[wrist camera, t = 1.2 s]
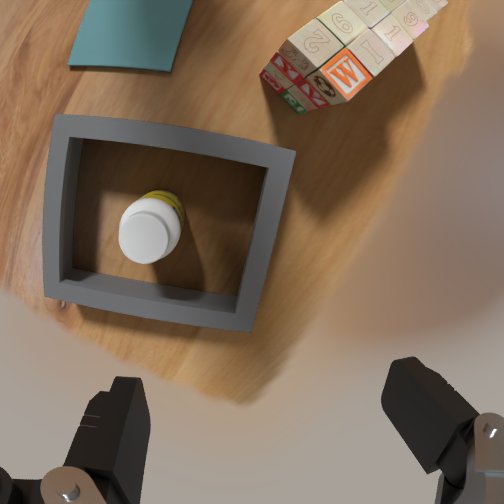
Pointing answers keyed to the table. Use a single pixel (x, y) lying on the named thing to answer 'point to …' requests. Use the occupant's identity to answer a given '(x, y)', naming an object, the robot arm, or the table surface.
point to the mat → (130, 34)
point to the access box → (139, 292)
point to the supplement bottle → (151, 226)
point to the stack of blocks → (345, 49)
